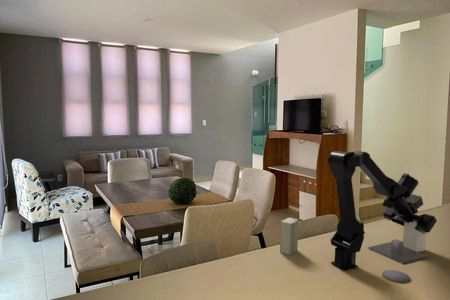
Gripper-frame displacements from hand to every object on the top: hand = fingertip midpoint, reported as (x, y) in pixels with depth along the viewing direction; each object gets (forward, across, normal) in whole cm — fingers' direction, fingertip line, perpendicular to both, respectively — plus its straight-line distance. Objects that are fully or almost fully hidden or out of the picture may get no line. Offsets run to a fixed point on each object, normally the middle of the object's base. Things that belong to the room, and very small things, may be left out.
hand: (417, 230), depth 134 cm
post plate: (-3, 0, +13) cm, 13 cm away
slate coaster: (-15, -13, +25) cm, 32 cm away
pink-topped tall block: (+4, 0, +6) cm, 7 cm away
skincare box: (-28, +18, +38) cm, 51 cm away
